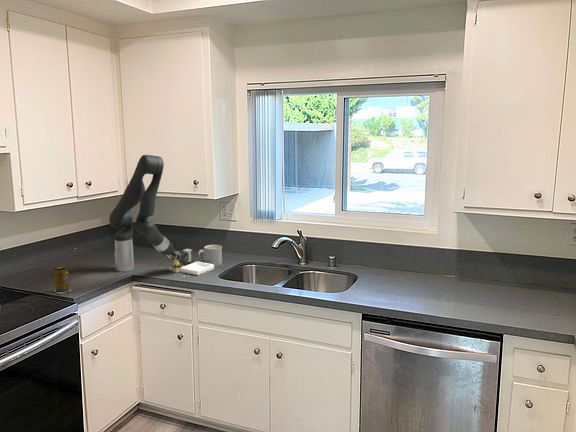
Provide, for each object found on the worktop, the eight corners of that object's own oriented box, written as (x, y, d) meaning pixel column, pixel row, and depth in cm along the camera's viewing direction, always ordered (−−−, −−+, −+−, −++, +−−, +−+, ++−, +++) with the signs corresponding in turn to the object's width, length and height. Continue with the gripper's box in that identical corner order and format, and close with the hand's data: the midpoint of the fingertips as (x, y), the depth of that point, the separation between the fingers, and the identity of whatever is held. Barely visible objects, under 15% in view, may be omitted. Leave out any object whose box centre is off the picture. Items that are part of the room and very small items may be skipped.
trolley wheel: (181, 267, 260) (180, 251, 258) (189, 264, 266) (188, 248, 264) (186, 268, 258) (185, 251, 256) (194, 265, 264) (193, 248, 262)
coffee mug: (224, 261, 271) (224, 245, 269) (218, 266, 261) (218, 249, 259) (202, 260, 273) (202, 244, 271) (196, 265, 264) (195, 248, 262)
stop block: (169, 270, 253) (169, 267, 253) (177, 267, 259) (176, 264, 258) (177, 272, 251) (177, 269, 250) (185, 269, 256) (185, 266, 255)
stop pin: (172, 270, 254) (171, 252, 252) (177, 268, 257) (176, 251, 255) (177, 271, 252) (176, 253, 250) (182, 269, 255) (181, 251, 253)
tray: (180, 272, 251) (180, 267, 250) (197, 265, 263) (197, 261, 262) (197, 275, 245) (197, 271, 245) (214, 268, 257) (214, 264, 257)
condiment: (67, 287, 227) (65, 264, 225) (74, 291, 222) (72, 267, 219) (51, 291, 222) (49, 267, 220) (58, 295, 216) (56, 271, 214)
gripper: (176, 240, 241) (192, 257, 254) (156, 237, 248) (173, 254, 261) (169, 252, 238) (186, 269, 250) (149, 249, 244) (166, 265, 257)
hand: (179, 261), depth 255 cm, fingers closed on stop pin, 3 cm apart
